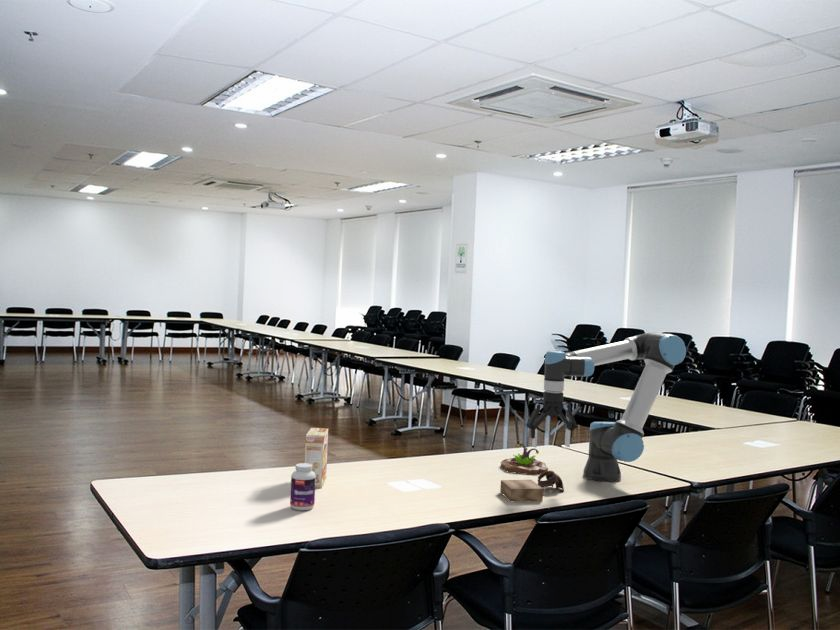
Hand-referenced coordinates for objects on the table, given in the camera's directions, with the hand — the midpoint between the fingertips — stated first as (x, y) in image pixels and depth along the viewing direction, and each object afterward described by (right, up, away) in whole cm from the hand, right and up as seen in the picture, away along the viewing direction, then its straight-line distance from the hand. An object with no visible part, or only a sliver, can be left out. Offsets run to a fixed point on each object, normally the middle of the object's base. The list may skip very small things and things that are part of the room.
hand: (550, 446), depth 275 cm
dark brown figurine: (0, -17, 0) cm, 17 cm away
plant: (-6, -16, +32) cm, 36 cm away
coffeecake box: (-90, -13, -4) cm, 91 cm away
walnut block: (-13, -17, -12) cm, 24 cm away
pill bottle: (-90, -14, -36) cm, 98 cm away
